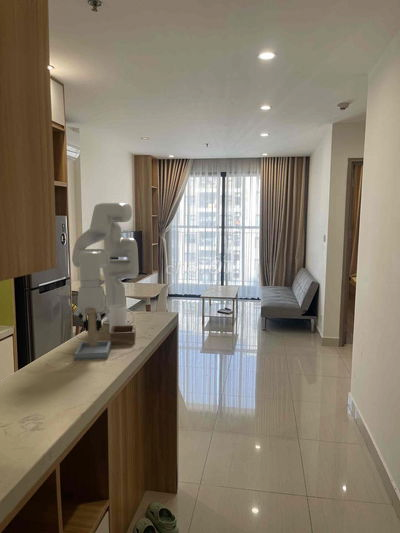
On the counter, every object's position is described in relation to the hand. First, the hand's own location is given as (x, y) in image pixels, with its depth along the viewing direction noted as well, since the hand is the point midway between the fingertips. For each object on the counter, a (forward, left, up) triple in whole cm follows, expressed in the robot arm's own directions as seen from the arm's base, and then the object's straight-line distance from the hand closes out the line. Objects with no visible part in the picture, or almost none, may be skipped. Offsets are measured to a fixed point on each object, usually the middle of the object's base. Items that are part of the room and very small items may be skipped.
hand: (92, 329), depth 151 cm
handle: (0, 0, -6) cm, 6 cm away
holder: (-14, +10, -9) cm, 20 cm away
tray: (0, 0, -9) cm, 9 cm away
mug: (-27, +9, -10) cm, 30 cm away
